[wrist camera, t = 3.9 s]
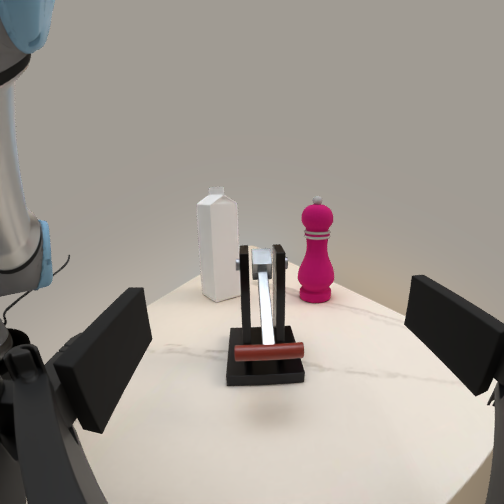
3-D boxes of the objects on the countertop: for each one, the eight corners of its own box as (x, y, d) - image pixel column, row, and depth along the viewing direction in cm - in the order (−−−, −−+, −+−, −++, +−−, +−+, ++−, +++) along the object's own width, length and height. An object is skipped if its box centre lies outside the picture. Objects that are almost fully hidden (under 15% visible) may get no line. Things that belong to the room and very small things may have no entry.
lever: (302, 363, 24) (305, 349, 23) (235, 366, 24) (234, 353, 23) (285, 263, 36) (286, 247, 34) (236, 264, 35) (235, 249, 34)
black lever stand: (303, 382, 31) (311, 261, 27) (227, 385, 31) (217, 264, 27) (290, 334, 43) (291, 238, 39) (231, 336, 42) (225, 240, 39)
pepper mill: (299, 289, 61) (300, 194, 56) (333, 291, 59) (336, 195, 54) (294, 303, 54) (295, 196, 50) (332, 305, 52) (336, 197, 48)
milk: (216, 303, 55) (208, 187, 50) (202, 294, 60) (194, 188, 55) (241, 295, 59) (237, 185, 54) (226, 287, 64) (221, 186, 58)
